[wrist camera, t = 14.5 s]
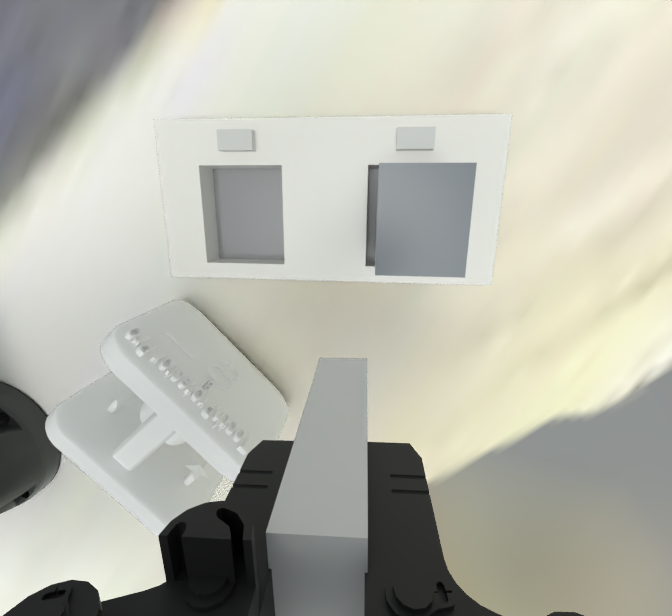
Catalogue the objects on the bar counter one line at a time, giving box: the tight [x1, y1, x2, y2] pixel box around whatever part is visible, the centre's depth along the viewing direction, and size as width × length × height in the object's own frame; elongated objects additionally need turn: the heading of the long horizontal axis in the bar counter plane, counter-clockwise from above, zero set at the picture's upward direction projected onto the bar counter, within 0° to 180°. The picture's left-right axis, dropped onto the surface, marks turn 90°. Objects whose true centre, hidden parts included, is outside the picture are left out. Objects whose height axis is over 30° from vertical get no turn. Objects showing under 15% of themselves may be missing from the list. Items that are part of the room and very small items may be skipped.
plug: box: [375, 163, 477, 278], centre depth 25 cm, size 5×6×10 cm
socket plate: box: [153, 114, 512, 285], centre depth 29 cm, size 26×12×4 cm, turn 90°
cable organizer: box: [45, 300, 289, 536], centre depth 31 cm, size 15×11×12 cm
